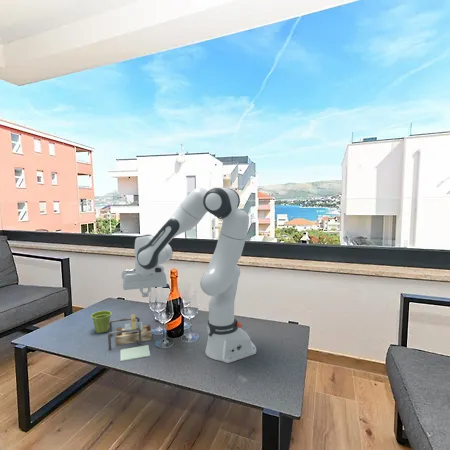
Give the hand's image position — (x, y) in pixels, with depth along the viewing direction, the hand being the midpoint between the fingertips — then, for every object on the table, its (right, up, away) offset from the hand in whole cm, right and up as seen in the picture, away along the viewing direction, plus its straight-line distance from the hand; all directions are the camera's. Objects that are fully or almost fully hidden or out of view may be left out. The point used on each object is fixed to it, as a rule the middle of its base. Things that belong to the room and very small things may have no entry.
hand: (145, 296), depth 139 cm
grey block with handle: (-5, -17, 0) cm, 18 cm away
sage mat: (-1, -22, -13) cm, 25 cm away
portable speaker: (+4, -18, +21) cm, 28 cm away
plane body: (-7, -20, 0) cm, 21 cm away
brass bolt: (-5, -12, -1) cm, 13 cm away
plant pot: (-24, -20, +8) cm, 32 cm away
